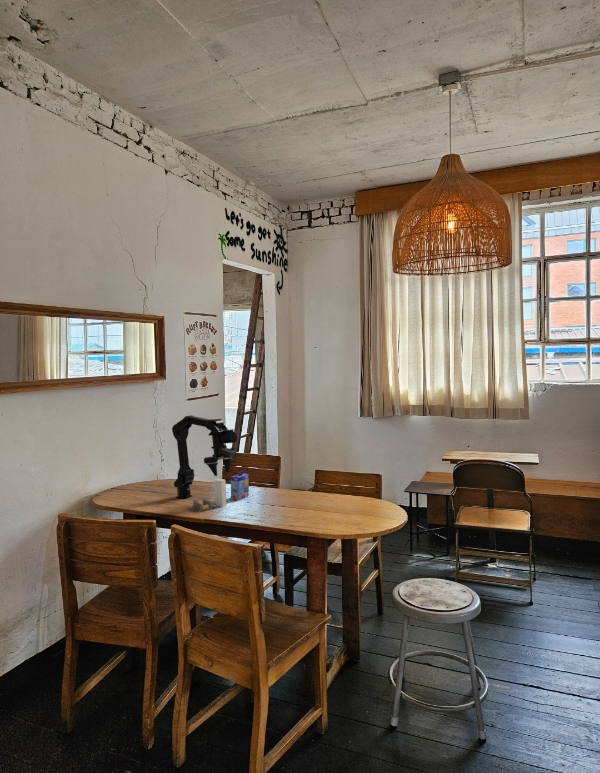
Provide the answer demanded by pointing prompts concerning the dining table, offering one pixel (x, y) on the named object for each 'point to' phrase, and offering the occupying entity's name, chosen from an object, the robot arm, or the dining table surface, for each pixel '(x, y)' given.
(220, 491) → the panel
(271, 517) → the dining table surface
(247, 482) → the ink cartridge box
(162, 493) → the dining table surface
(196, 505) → the rack
